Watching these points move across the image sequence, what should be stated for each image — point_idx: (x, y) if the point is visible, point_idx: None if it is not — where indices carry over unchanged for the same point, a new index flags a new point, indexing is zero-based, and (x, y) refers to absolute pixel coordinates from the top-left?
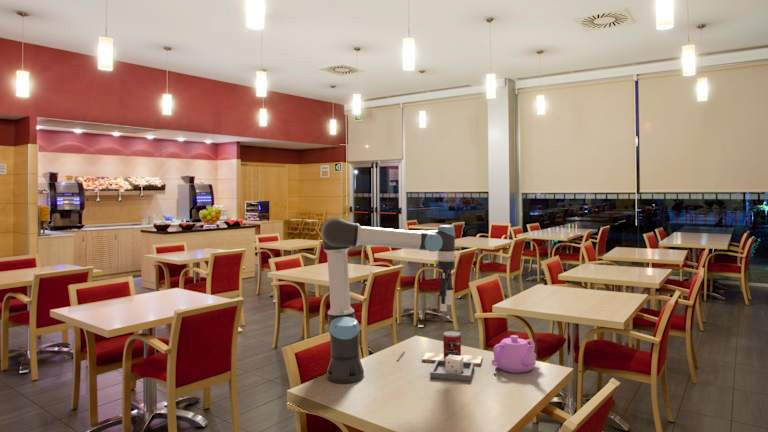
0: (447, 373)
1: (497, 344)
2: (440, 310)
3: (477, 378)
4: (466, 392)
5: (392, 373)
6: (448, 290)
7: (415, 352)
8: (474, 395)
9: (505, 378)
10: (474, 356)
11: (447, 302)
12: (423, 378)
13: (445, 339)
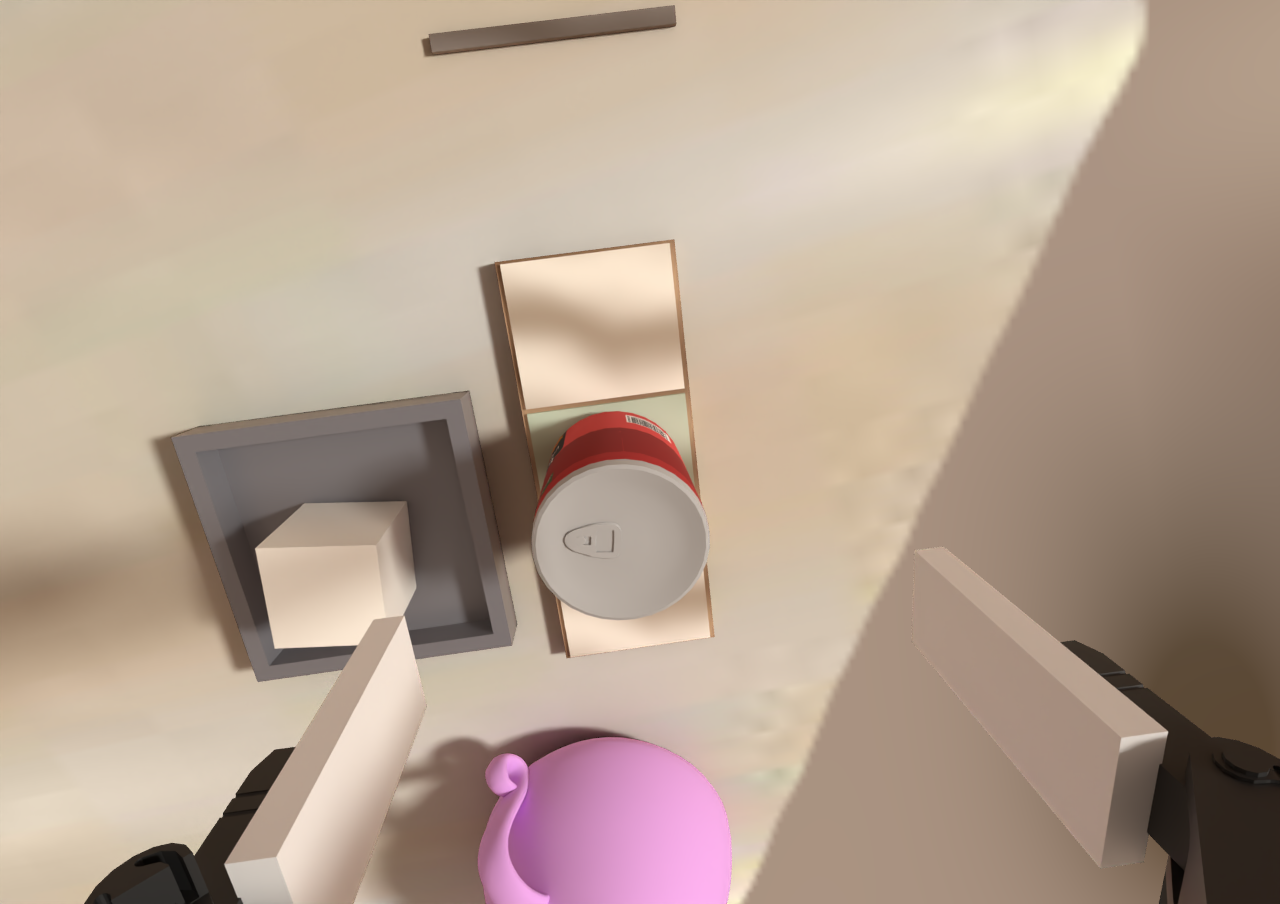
0: (215, 551)
1: (506, 894)
2: (371, 628)
3: None
4: (106, 678)
5: (140, 117)
6: (1115, 805)
7: (707, 127)
8: (91, 722)
9: (423, 800)
10: (691, 597)
11: (932, 602)
12: (175, 383)
13: (545, 487)
